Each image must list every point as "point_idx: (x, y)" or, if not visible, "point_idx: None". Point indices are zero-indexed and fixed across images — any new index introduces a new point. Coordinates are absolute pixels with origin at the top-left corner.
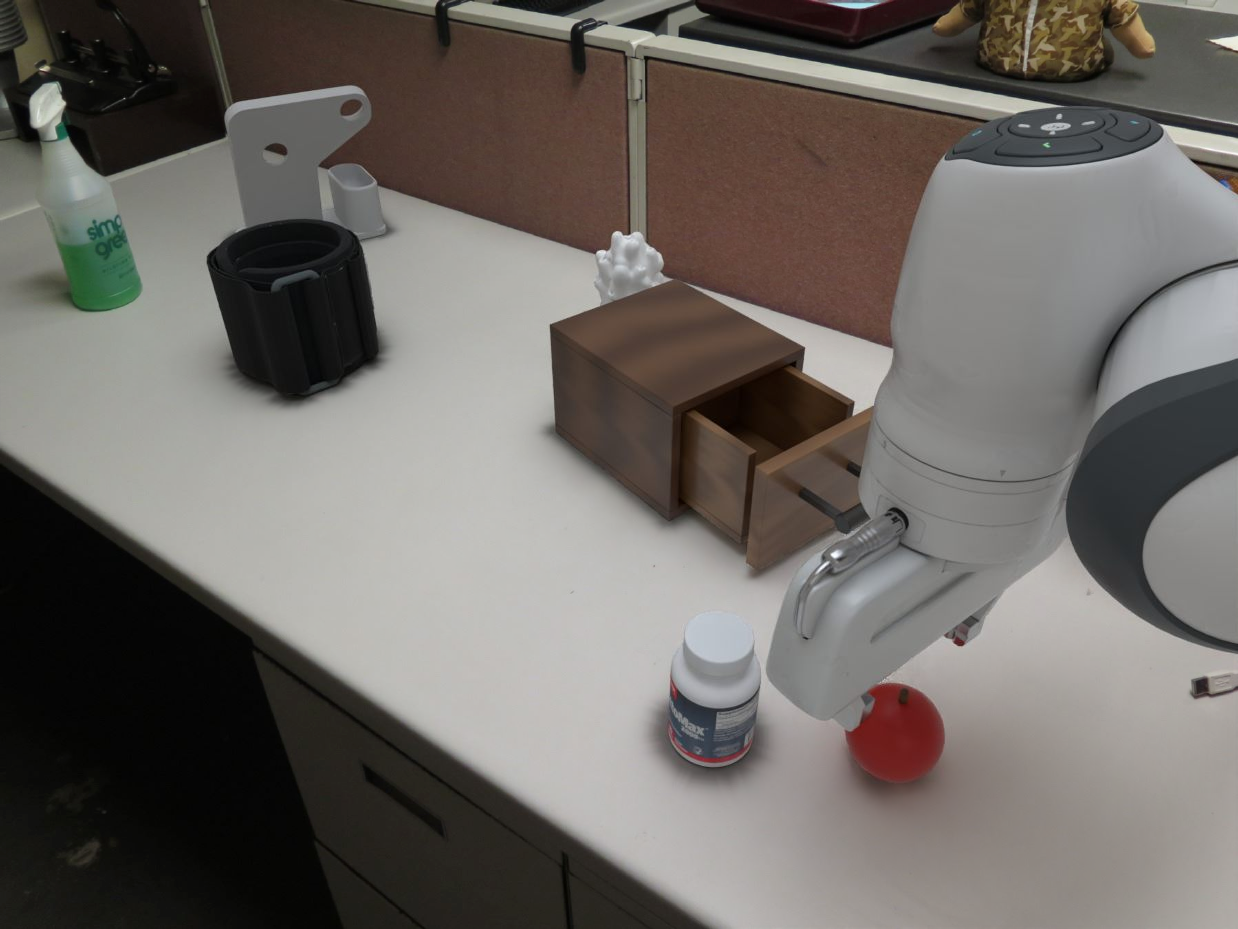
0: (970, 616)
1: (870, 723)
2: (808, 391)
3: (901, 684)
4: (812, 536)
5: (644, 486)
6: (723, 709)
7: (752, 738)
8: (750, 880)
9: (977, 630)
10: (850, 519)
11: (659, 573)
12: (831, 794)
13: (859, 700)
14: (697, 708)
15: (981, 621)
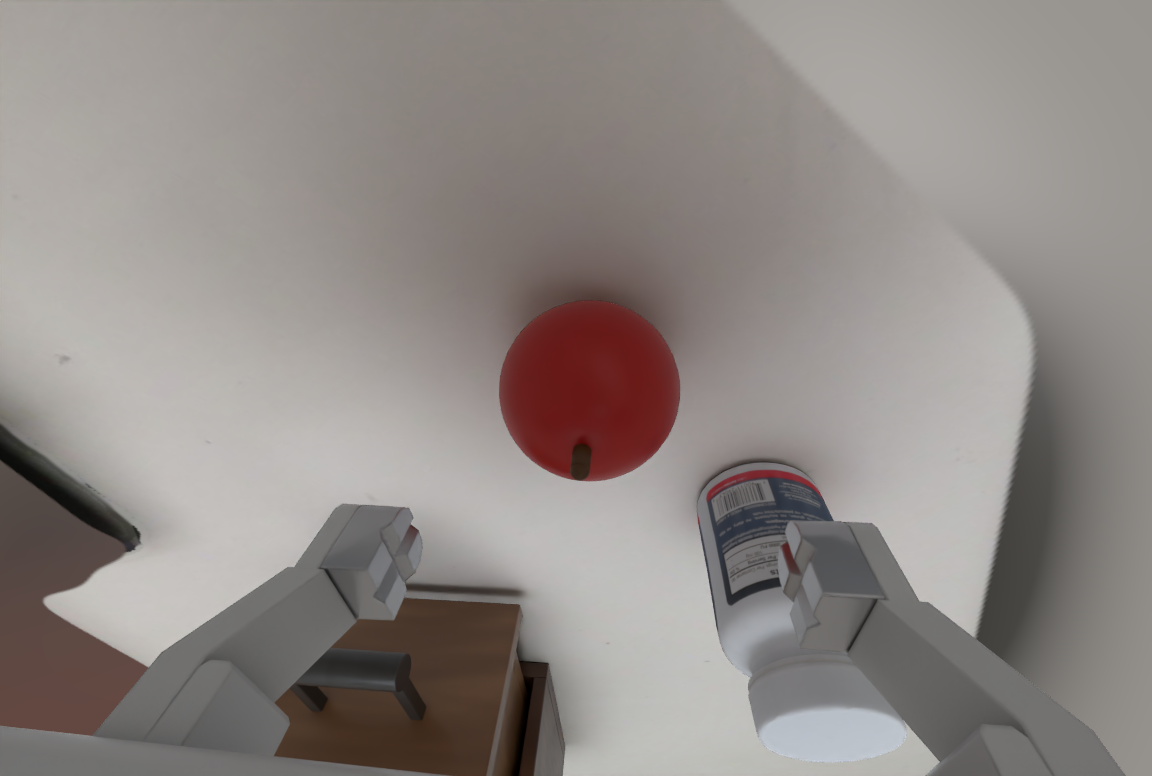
0: (337, 583)
1: (655, 442)
2: None
3: (539, 463)
4: (420, 603)
5: (549, 707)
6: None
7: (737, 478)
8: (942, 332)
9: (340, 531)
10: (388, 684)
11: (610, 636)
12: (712, 357)
13: (995, 688)
14: None
15: (316, 558)
